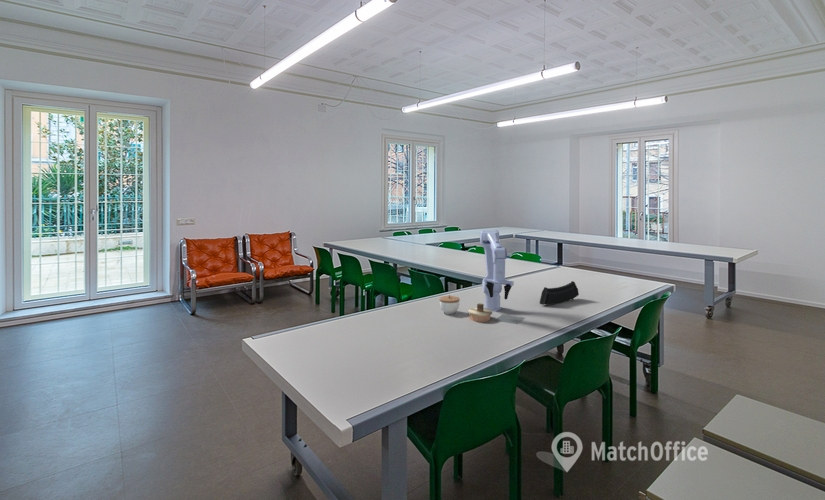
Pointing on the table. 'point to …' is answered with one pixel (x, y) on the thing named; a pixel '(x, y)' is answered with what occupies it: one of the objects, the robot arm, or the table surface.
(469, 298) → the table surface
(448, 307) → the lidded jar
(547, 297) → the magazine
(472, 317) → the dish
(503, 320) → the mat
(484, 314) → the lid
